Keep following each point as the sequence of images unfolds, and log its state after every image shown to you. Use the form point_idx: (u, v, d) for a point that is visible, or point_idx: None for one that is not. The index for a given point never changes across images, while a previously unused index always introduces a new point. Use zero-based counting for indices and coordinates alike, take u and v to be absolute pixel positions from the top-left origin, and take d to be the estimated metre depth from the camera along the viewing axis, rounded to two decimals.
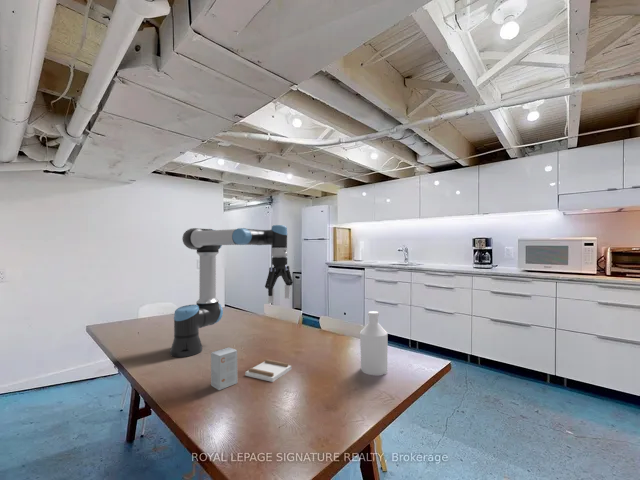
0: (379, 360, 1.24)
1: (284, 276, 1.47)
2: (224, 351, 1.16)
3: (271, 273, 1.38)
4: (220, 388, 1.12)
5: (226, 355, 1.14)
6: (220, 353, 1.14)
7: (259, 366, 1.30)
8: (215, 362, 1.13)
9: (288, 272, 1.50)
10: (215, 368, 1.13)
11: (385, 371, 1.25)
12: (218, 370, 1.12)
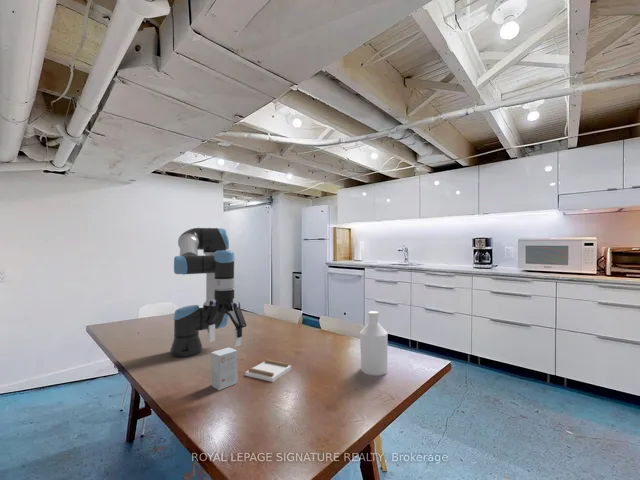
0: (379, 360, 1.24)
1: None
2: (224, 351, 1.16)
3: None
4: (220, 388, 1.12)
5: (226, 355, 1.14)
6: (220, 353, 1.14)
7: (259, 366, 1.30)
8: (215, 362, 1.13)
9: (234, 311, 1.13)
10: (215, 368, 1.13)
11: (385, 371, 1.25)
12: (218, 370, 1.12)
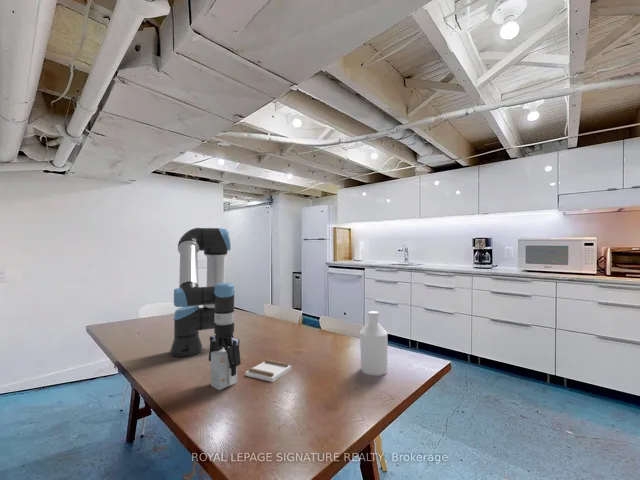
0: (379, 360, 1.24)
1: None
2: (224, 351, 1.16)
3: None
4: (220, 388, 1.12)
5: (226, 355, 1.14)
6: (220, 353, 1.14)
7: (259, 366, 1.30)
8: (215, 362, 1.13)
9: (232, 348, 1.13)
10: (215, 368, 1.13)
11: (385, 371, 1.25)
12: (218, 370, 1.12)
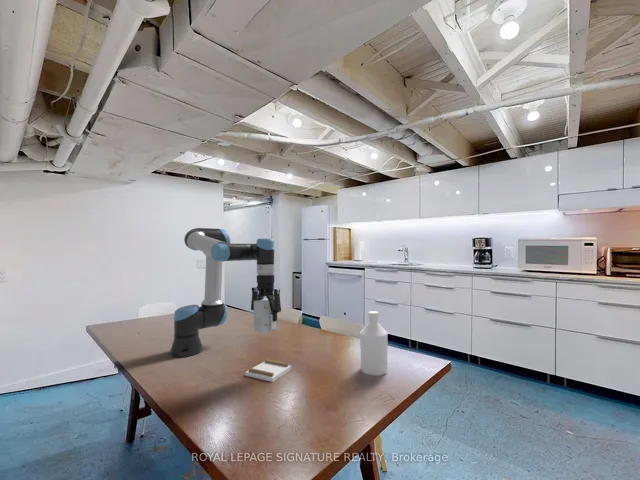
0: (379, 360, 1.24)
1: None
2: (265, 300, 1.27)
3: None
4: (263, 332, 1.22)
5: (268, 302, 1.24)
6: (263, 301, 1.24)
7: (259, 366, 1.30)
8: (258, 308, 1.24)
9: (274, 296, 1.24)
10: (258, 314, 1.24)
11: (385, 371, 1.25)
12: (261, 315, 1.23)
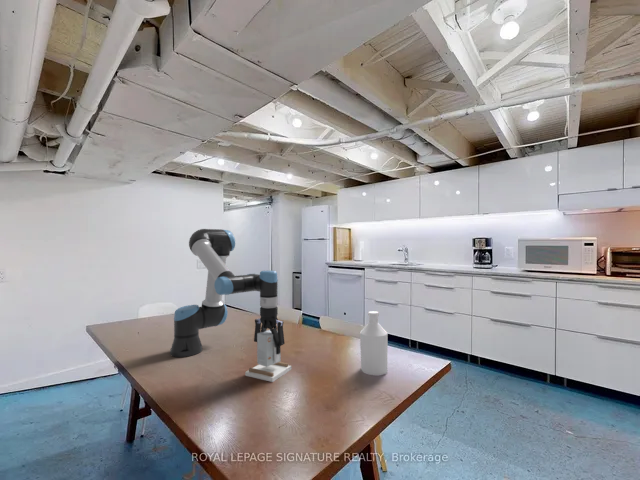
0: (379, 360, 1.24)
1: None
2: (269, 332, 1.27)
3: None
4: (267, 365, 1.23)
5: (271, 335, 1.25)
6: (266, 334, 1.25)
7: (259, 366, 1.30)
8: (262, 341, 1.24)
9: (277, 329, 1.25)
10: (261, 347, 1.25)
11: (385, 371, 1.25)
12: (265, 349, 1.23)
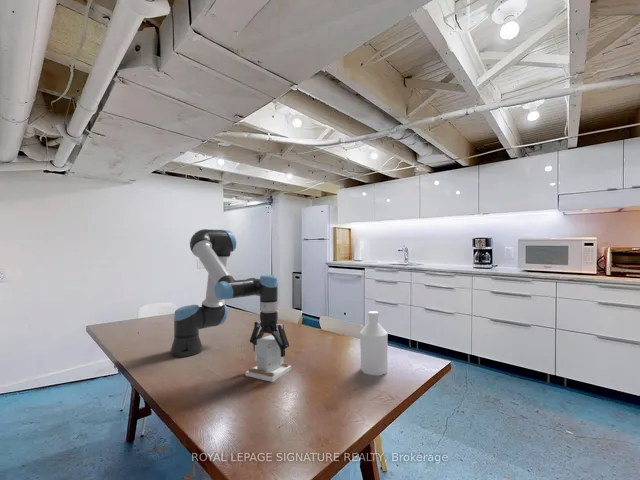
0: (379, 360, 1.24)
1: None
2: (268, 338, 1.28)
3: None
4: (267, 371, 1.23)
5: (271, 341, 1.25)
6: (266, 340, 1.25)
7: None
8: (262, 348, 1.24)
9: (279, 332, 1.24)
10: (261, 354, 1.25)
11: (385, 371, 1.25)
12: (265, 355, 1.23)
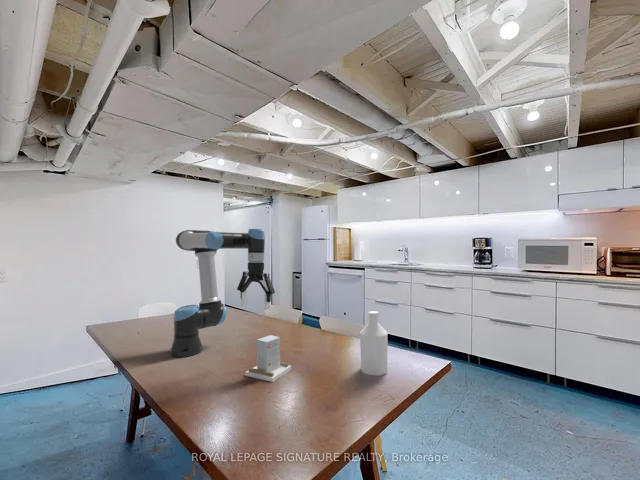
0: (379, 360, 1.24)
1: None
2: (268, 338, 1.28)
3: None
4: (267, 371, 1.23)
5: (271, 341, 1.25)
6: (266, 340, 1.25)
7: None
8: (262, 348, 1.24)
9: (264, 280, 1.34)
10: (261, 354, 1.25)
11: (385, 371, 1.25)
12: (265, 355, 1.23)
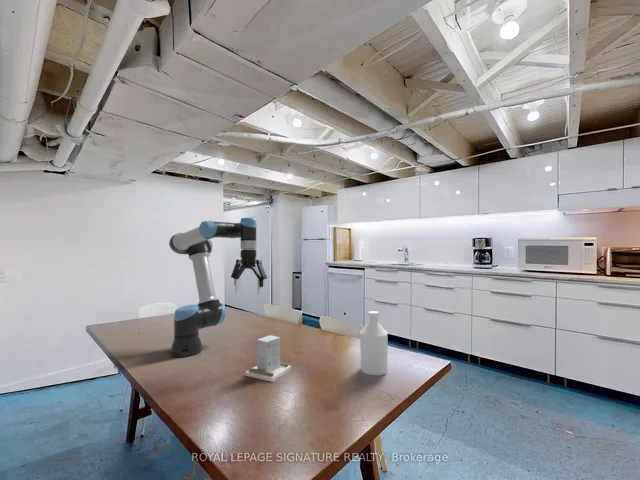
0: (379, 360, 1.24)
1: None
2: (268, 338, 1.28)
3: None
4: (267, 371, 1.23)
5: (271, 341, 1.25)
6: (266, 340, 1.25)
7: None
8: (262, 348, 1.24)
9: (257, 266, 1.40)
10: (261, 354, 1.25)
11: (385, 371, 1.25)
12: (265, 355, 1.23)
